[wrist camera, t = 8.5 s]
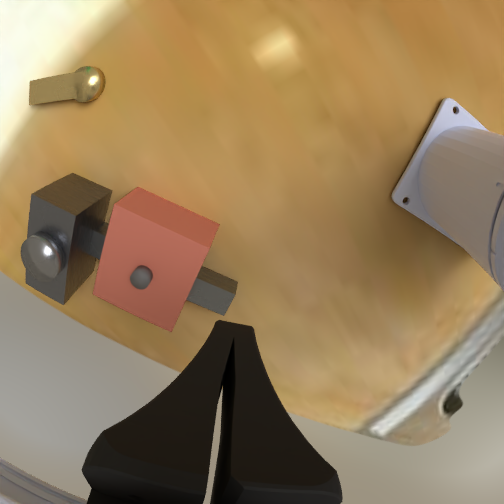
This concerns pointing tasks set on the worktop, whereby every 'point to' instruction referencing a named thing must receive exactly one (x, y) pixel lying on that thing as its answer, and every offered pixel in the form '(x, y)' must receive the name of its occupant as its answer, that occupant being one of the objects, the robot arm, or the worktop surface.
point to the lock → (152, 256)
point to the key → (68, 86)
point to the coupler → (88, 244)
